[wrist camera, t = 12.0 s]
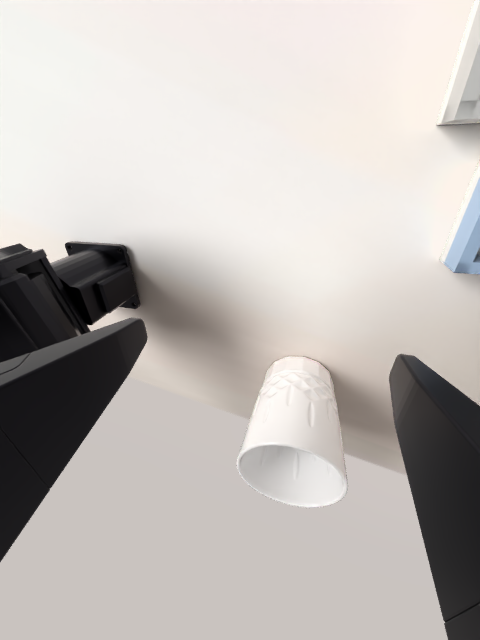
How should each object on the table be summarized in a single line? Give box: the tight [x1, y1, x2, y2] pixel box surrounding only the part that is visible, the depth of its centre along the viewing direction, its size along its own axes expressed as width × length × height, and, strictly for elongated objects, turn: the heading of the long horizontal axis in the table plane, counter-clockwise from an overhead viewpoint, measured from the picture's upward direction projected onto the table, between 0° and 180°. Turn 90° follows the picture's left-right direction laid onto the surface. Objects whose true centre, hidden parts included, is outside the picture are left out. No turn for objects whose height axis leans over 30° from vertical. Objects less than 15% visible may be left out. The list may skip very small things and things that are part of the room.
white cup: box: [237, 356, 348, 508], centre depth 23 cm, size 8×8×10 cm
